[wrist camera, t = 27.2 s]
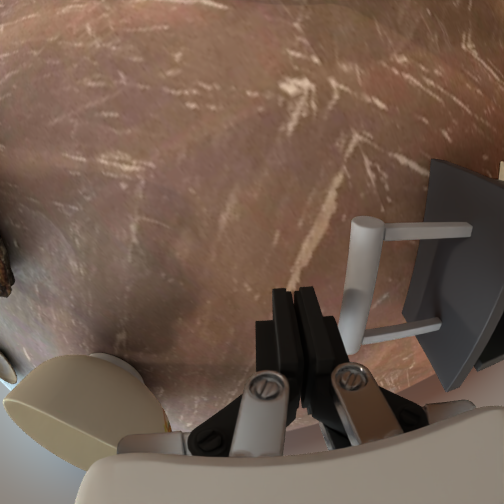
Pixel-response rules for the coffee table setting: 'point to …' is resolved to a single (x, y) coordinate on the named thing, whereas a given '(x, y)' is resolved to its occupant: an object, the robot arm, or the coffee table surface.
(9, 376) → the seashell
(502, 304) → the dark grey drawer
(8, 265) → the fossil rock
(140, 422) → the bowl
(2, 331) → the coffee table surface
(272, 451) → the robot arm
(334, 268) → the coffee table surface
